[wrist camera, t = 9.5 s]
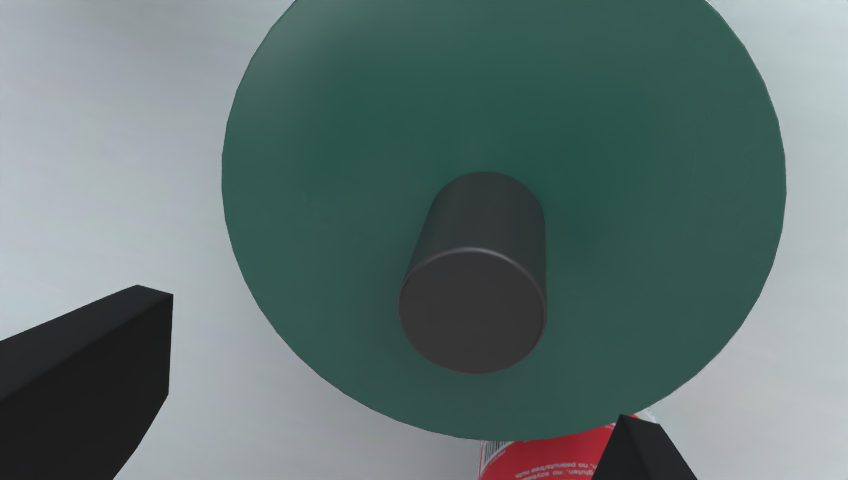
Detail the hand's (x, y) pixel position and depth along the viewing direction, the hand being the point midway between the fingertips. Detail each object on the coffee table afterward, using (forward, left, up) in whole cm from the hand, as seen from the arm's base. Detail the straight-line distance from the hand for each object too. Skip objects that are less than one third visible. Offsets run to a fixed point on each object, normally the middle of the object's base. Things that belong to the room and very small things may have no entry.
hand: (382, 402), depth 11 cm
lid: (+2, 0, -5) cm, 5 cm away
